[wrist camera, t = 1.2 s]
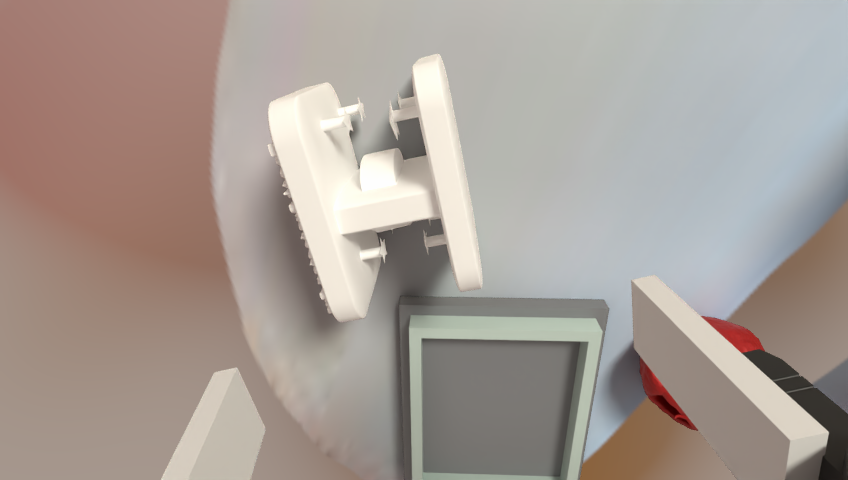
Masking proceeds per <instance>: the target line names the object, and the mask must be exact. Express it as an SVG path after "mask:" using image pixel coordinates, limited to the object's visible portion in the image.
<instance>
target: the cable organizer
mask: <svg viewBox="0 0 848 480" xmlns="http://www.w3.org/2000/svg"><path fill="white" fill-rule="evenodd" d="M412 83H413V91H414V96H413V97H409V98H405V99H401V97H400V96H399V93H398V105H399V108H400V109H399V110H394V111H393V109H392V106H391V102H390V114H389V123H390V125H391V127H392V129H393V131H394V134H395V136H396V138H397V140H398V135H397V133H398V134H399V130H398V126H397V121H402V120H407V119H411V118H416V117H419V122H420V126H421V131H422V135H423V140H424V145H425V149H426V154H427V155H425V156H420V157H415V158H410V159H406V160H403V156H402V154H401V151H400V150H399V149H398V148H394V149H390V150H385V151H380V152H375V153H371V154H366V155H364V156H363V158H362V160H361V164H360V169H359V168H358V164H357V161H356V157H355V154H354V150H353V146H352V143H351V139H350V136H349V132H350V130H352V131H353V129H352V125H351V122H350V116H352V115H357V114H361V119H362V120H363V117H365V113H364V109H363V103H360V100H359V98H358V103H359V104H356V105H352V106H347V107H343V108H341V105H340V102H339V99H338V97H337V95H336V93H335V91H334V89H333V87H332V86H331V85H330V84H329V83H323V84H318V85H314V86H310V87H306V88H303V89H301V90H298V91H296V92H293V93H291V94H289V95H286V96H284V97H281V98H279V99H276V100H274V101H272V102H271V103H270V105H269V109H268V122H269V129H270V134H271V138H272V142H273V143H272V144H268V145H267V146H268V149H269V151H270V154H271V157H273V156H276V158H275V160H276V163H277V165H280V166H281V169H280V175H281V177H282V178H285V181H283V185H282V186H283V187H284V186H285V188H288V189H287V190H286V191H285V192H284V193H283V194H284V195H288V198H292V202H291V204H290V205H289V209H290V211H291V213H295V212H296V214H295V217H296V221H299V223H298V227H299V229H300V230H303V233H301V239H303V240H305V247H306V248H309V251H308V256H309V258H310V259H311V260H310V261H311V262H310V265H312V266H314V273H315V274H318V277H317V280H318V284H321V285H322V290H321V292H320V294H319V295H320V298H321V300H325V301H324V302H326V303H325V304H326V307H327V306H328V313H329V314H331V313H332V314H333V315H334V317H335V318H336V319H337V320H338V321H339V322H346V321H352V320H358V319H364V318H365V317H366V315H367V311H368V308H369V304H370V301H371V297H372V294H373V290H374V286H375V283H376V279H377V276H378V272H379V269H380V265H381V257H383V259H384V264H385V255H387V252H386V248H385V239H384V240H383V242H382V240H381V238H380V242H381V247H380V245H379V240H378V236H377V232H383V231H387V230H391V229H392V234H393V229H395V228H399V227H403V226H407V225H411V224H412V222H414V221H420V220H425V219H428V221H429V224H430V220H434V219H440V218H441V222H442V226H443V231H444V234H441V235H435V236H430V237H427V232H426V234H425V231H424V244H425V246H426V250H427V253H428V247H433V246H438V245H443V244H447V249H448V253H449V258H450V262H451V267H452V271H453V275H454V278H455V281H456V284H457V286H458V288H459V290H460V291H461V292H464V291H469V290H475V289H481V288H482V283H483V281H482V267H481V260H480V253H479V247H478V240H477V233H476V226H475V220H474V214H473V209H472V203H471V198H470V193H469V188H468V182H467V177H466V172H465V167H464V161H463V156H462V151H461V146H460V141H459V135H458V130H457V125H456V120H455V114H454V109H453V104H452V99H451V94H450V88H449V83H448V79H447V75H446V71H445V67H444V64H443V61H442V58H441V56H440V55H439V54H435V55H431V56H427V57H422V58H420V59H419V60H418V61H417V62H416V63H415V64H414V65H413V67H412ZM399 135H400V134H399ZM430 227H431V224H430Z"/></svg>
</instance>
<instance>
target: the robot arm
mask: <svg viewBox="0 0 848 480" xmlns="http://www.w3.org/2000/svg"><path fill="white" fill-rule="evenodd" d="M631 283H632V310H633V337H634V349H635V350H636V352H637V353H638V354H639V355H640V357H641V358H642V359H643V361H644V362H645V363H646V364H647V366H648V367H649V368H650V369H651V371H652V372H653V373H654V375H655V376H656V377H657V378H658V380H659V381H660V382H661V383H662V385H663V386H664V387H665V389H666V390H667V391H668V392H669V394H670V395H671V396H672V397H673V399H674V400H675V401H676V403H677V404H678V405H679V406H680V408H681V409H682V410H683V411H684V413H685V414H686V415H687V417H688V418H689V419H690V420H691V422H692V423H693V424H694V425H695V427H696V428H697V429H698V431H699V432H700V433H701V434H702V436H703V437H704V438H705V439H706V441H707V442H708V443H709V445H710V446H711V447H712V448H713V450H714V451H715V452H716V453H717V454H718V456H719V457H720V459H721V460H722V461H723V462H724V463H725V465H726V466H727V467H728V469H729V470H730V471H731V472H732V474H733V475H734V476H735V478H736V479H737V480H848V414H847V413H846V412H845V411H844V410H842V409H841V408H840V407H839V406H838V405H836V404H835V403H834V402H833V401H831V400H830V399H829V398H828V397H827V396H825V395H824V394H823V393H822V392H821V391H819V390H818V389H817V388H814V387H813V385H812V384H811V383H810V382H808V381H807V380H806V379H804V378H803V377H802V376H801V377H800V376H799V373H798V372H796V371H795V370H794V369H793V368H791V367H790V366H789V365H788V364H787V363H785V362H784V361H783V360H782V359H780V358H778V357H775V356H773V355H771V354H769V353H767V352H765V351H763V350H761V349H757V350H752V351H748V352H743V353H741V352H740V351H739V350H737V349H736V348H735V347H734V346H733V345H732V344H731V343H730V342H729V341H727V340H726V339H725V338H724V337H723V336H722V335H721V334H720V333H719V332H717V331H716V330H715V329H714V328H713V327H712V326H711V325H710V324H709V323H708V322H706V321H705V320H704V319H703V318H702V317H701V316H700V315H699V314H698V313H696V312H695V311H694V310H693V309H692V308H691V307H690V306H689V305H688V304H686V303H685V302H684V301H683V300H682V299H681V298H680V297H679V296H678V295H676V294H675V293H674V292H673V291H672V290H671V289H670V288H669V287H668V286H667V285H665V284H664V283H663V282H662V281H661V280H660V279H659V278H658V277H657V276H655V275H652V276H647V277H643V278H638V279H634V280H631ZM265 430H266V429H265V426H264V424H263V422H262V420H261V418H260V416H259V414H258V411H257V410H256V407H255V405H254V403H253V401H252V398H251V397H250V394H249V392H248V390H247V388H246V386H245V383H244V381H243V379H242V377H241V375H240V373H239V370H238V368H232V369H228V370H223V371H219V372H215V373H214V374H213V376H212V378H211V380H210V382H209V384H208V386H207V388H206V390H205V393H204V395H203V396H202V398H201V401H200V402H199V405H198V406H197V408H196V410H195V412H194V414H193V416H192V419H191V421H190V422H189V424H188V426H187V428H186V430H185V432H184V435H183V436H182V438H181V440H180V442H179V444H178V446H177V448H176V450H175V452H174V454H173V456H172V458H171V461H170V462H169V464H168V467H167V468H166V470H165V472H164V474H163V476H162V479H161V480H251V477H252V473H253V470H254V467H255V463H256V460H257V457H258V453H259V450H260V447H261V443H262V440H263V436H264V433H265Z"/></svg>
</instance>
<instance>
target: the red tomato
mask: <svg viewBox="0 0 848 480" xmlns="http://www.w3.org/2000/svg"><path fill="white" fill-rule="evenodd" d="M701 317H702V318H703V319H704V320H705V321H706V322H708V323H709V324H710V325H711V326H712V327H713V328H714V329H715V330H716V331H717V332H719V333H720V334H721V335H722V336H723V337H724V338H725V339H726V340H727V341H729V342H730V343H731V344H732V345H733V346H734V347H735V348H736V349H737V350H739V351H740V352H741V353H743V352H748V351H752V350H757V349H761V350H763V351H765V350H764V349H763V347H762V345H761V343H760V341H759V339H758V338H757V337H755V335H754V334H753V333H752V332H751V331H749V330H748V329H745V328H744V327H742V326H739V325H736V324H733V323H730V322H727V321H724V320H721V319H717V318H712V317H705V316H701ZM640 374H641V377H642V383H643V387H644V390H645V393H646V395H648V398H649V399H650V400H651V401H652V402H653V403H655V404H656V405H657V406H658V407H659V408H660V409H661V410H662V411H663V412H665V413H667V414H668V415H669V416H670V417H671V418H672V419H673V420H675V421H676V422H678V423H680V424H682V425H684V426H686V427H687V428H689V429H692V430H697V431H698V429H697V428H696V427H695V425H694V424H693V423H692V422H691V420H690V419H689V418H688V417H687V415H686V414H685V413H684V411H683V410H682V409H681V408H680V406H679V405H678V404H677V403H676V401H675V400H674V399H673V397H672V396H671V395H670V394H669V392H668V391H667V390H666V389H665V387H664V386H663V385H662V383H661V382H660V381H659V380H658V378H657V377H656V376H655V375H654V373H653V372H652V371H651V369H650V368H649V367H648V366H647V364H646V363H645V362H644V361H643V359H642V358H641V357H640Z"/></svg>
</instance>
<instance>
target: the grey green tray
mask: <svg viewBox="0 0 848 480" xmlns="http://www.w3.org/2000/svg"><path fill="white" fill-rule="evenodd" d="M608 313H609V308H608V306H607V304H606V302H605V301H604V300H592V299H533V298H473V297H413V296H400V302H399V323H400V357H401V390H402V424H403V457H404V480H580V474H581V468H582V463H583V457H584V451H585V445H586V440H587V434H588V428H589V422H590V417H591V411H592V405H593V399H594V394H595V388H596V382H597V376H598V370H599V365H600V359H601V353H602V347H603V342H604V336H605V330H606V324H607V319H608Z"/></svg>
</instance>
